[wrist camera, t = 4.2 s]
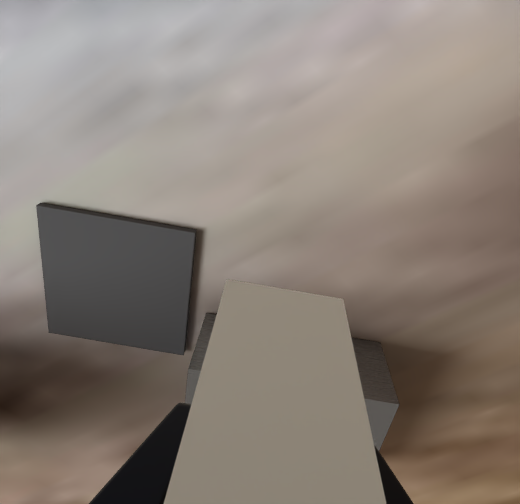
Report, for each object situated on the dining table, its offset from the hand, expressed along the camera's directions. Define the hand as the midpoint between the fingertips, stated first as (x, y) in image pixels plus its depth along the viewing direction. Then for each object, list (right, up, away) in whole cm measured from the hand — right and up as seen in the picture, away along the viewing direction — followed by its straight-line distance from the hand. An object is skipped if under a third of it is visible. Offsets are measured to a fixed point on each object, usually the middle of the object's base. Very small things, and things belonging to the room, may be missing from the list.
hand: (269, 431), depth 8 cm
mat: (-8, +2, +14) cm, 16 cm away
